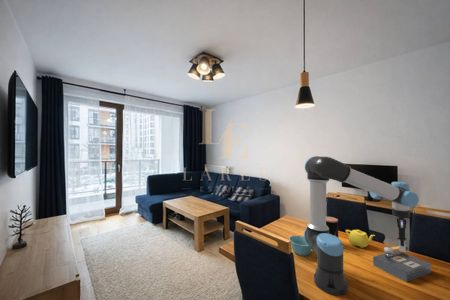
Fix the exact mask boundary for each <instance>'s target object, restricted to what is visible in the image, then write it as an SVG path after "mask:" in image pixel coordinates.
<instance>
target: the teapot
mask: <svg viewBox="0 0 450 300" xmlns="http://www.w3.org/2000/svg"><path fill="white" fill-rule="evenodd" d="M345 233H346V234H347V236H348V242H349V243H350V244H351V246H353V247H354V246H356V247H359V248H360V249H364V248H366V247H368V246H369V244H371V243H372V241H373V237H375V236H376V235H375V234H370V236H368V234H367V232H365V231H362V230H360V229H352V230H350V229H345Z"/></svg>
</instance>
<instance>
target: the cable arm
mask: <svg viewBox="0 0 450 300" xmlns="http://www.w3.org/2000/svg"><path fill="white" fill-rule="evenodd" d="M405 248H406V252H407V251H409V246H408V245H406V244H405ZM383 251H384V254H385V253H387V254H394V252H399V245H398V246H397V245H396V246H391V247H388V246H385V247H384V248H383Z"/></svg>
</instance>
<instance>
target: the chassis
mask: <svg viewBox="0 0 450 300" xmlns="http://www.w3.org/2000/svg"><path fill="white" fill-rule="evenodd" d="M372 258H373V259H372V261H373V262H372V263H373V266H374V267H376V268H378V269H379V270H382V271H383V272H386V273H388V274H389V275H392V276H394V277H396V278H398V279H400V280H402V281H404V282H406V283H407V282H410V281H414V280H416V279H418V278H421V277H423V276H426V275H429V274H432V263H430V262H427V261H426V260H422V259H420V258H418V257H415V256H413V255H410V254H407V253H406V252H402V251H399V252H394V254H387V253H385V252H384V253H382V254H378V255H375V256H373V257H372Z"/></svg>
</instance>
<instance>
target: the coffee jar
mask: <svg viewBox="0 0 450 300" xmlns="http://www.w3.org/2000/svg"><path fill="white" fill-rule="evenodd" d="M338 222H339V219H338V218H336V217H333V216H326V225H327V226H328V228H329V234H332V235H333V236H336V237H338V238H339V223H338Z"/></svg>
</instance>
